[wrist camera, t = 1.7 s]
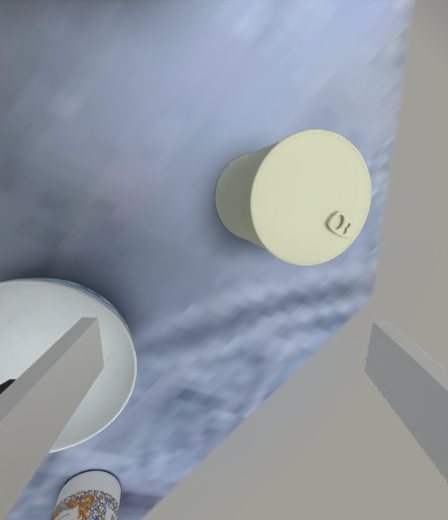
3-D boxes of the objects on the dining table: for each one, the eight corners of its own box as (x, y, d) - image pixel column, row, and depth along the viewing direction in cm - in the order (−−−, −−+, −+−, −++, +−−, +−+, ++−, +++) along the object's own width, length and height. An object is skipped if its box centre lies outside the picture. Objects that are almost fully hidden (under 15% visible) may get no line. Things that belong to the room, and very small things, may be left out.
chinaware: (-17, 393, 28) (-79, 465, 21) (-25, 249, 25) (-102, 273, 17) (137, 388, 32) (131, 447, 24) (147, 262, 28) (143, 286, 21)
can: (264, 255, 31) (324, 291, 20) (197, 209, 28) (224, 221, 17) (311, 187, 31) (401, 184, 19) (247, 133, 28) (309, 92, 16)
